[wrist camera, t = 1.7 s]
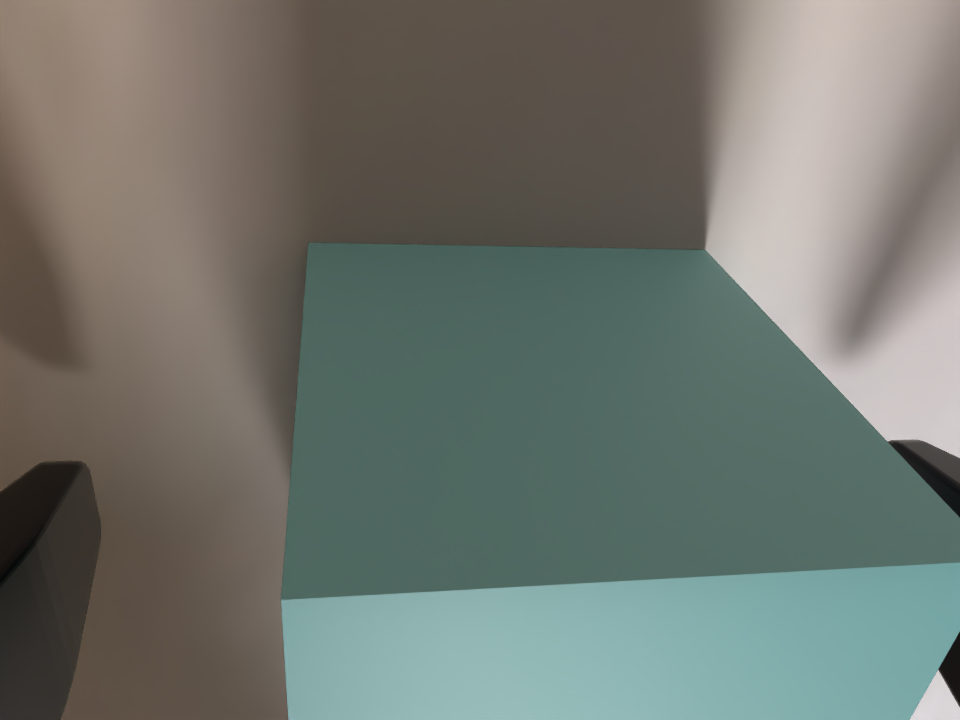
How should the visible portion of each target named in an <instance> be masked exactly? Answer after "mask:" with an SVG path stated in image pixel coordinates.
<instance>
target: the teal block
mask: <svg viewBox="0 0 960 720" xmlns="http://www.w3.org/2000/svg"><path fill="white" fill-rule="evenodd" d="M281 609H282V625H283V642H284V658H285V674H286V690H287V707H288V720H910V718H911V716H912V714H913V713H914V711H915V709H916V707H917V706H918V704H919V702H920V700H921V699H922V697H923V695H924V693H925V691H926V690H927V688H928V686H929V684H930V683H931V681H932V679H933V677H934V676H935V674H936V672H937V670H938V669H939V667H940V665H941V663H942V662H943V660H944V658H945V656H946V655H947V653H948V651H949V649H950V648H951V646H952V644H953V642H954V641H955V639H956V637H957V635H958V634H959V632H960V517H959V516H958V515H957V514H956V513H955V512H954V511H953V510H952V509H951V508H950V507H949V506H948V505H947V504H946V503H945V502H944V501H943V500H942V499H941V497H940V496H939V495H938V494H937V493H936V492H935V491H934V490H933V489H932V488H931V487H930V486H929V485H928V484H927V483H926V482H925V481H924V480H923V479H922V477H921V476H920V475H919V474H918V473H917V472H916V471H915V470H914V469H913V468H912V467H911V466H910V465H909V464H908V463H907V462H906V461H905V460H904V459H903V457H902V456H901V455H900V454H899V453H898V452H897V451H896V450H895V449H894V448H893V447H892V446H891V445H890V444H889V443H888V442H887V441H886V440H885V439H884V438H883V436H882V435H881V434H880V433H879V432H878V431H877V430H876V429H875V428H874V427H873V426H872V425H871V424H870V423H869V422H868V421H867V420H866V419H865V418H864V416H863V415H862V414H861V413H860V412H859V411H858V410H857V409H856V408H855V407H854V406H853V405H852V404H851V403H850V402H849V401H848V400H847V399H846V398H845V396H844V395H843V394H842V393H841V392H840V391H839V390H838V389H837V388H836V387H835V386H834V385H833V384H832V383H831V382H830V381H829V380H828V379H827V378H826V377H825V375H824V374H823V373H822V372H821V371H820V370H819V369H818V368H817V367H816V366H815V365H814V364H813V363H812V362H811V361H810V360H809V359H808V358H807V357H806V355H805V354H804V353H803V352H802V351H801V350H800V349H799V348H798V347H797V346H796V345H795V344H794V343H793V342H792V341H791V340H790V339H789V338H788V337H787V335H786V334H785V333H784V332H783V331H782V330H781V329H780V328H779V327H778V326H777V325H776V324H775V323H774V322H773V321H772V320H771V319H770V318H769V317H768V316H767V314H766V313H765V312H764V311H763V310H762V309H761V308H760V307H759V306H758V305H757V304H756V303H755V302H754V301H753V300H752V299H751V298H750V297H749V296H748V294H747V293H746V292H745V291H744V290H743V289H742V288H741V287H740V286H739V285H738V284H737V283H736V282H735V281H734V280H733V279H732V278H731V277H730V276H729V274H728V273H727V272H726V271H725V270H724V269H723V268H722V267H721V266H720V265H719V264H718V263H717V262H716V261H715V260H714V259H713V258H712V257H711V256H710V254H709V253H708V252H707V251H706V250H686V249H631V248H576V247H521V246H466V245H411V244H356V243H308V255H307V268H306V281H305V294H304V307H303V320H302V333H301V346H300V359H299V372H298V385H297V398H296V411H295V424H294V437H293V450H292V463H291V476H290V489H289V502H288V515H287V528H286V541H285V554H284V567H283V580H282V593H281Z"/></svg>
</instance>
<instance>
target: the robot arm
mask: <svg viewBox="0 0 960 720" xmlns="http://www.w3.org/2000/svg"><path fill="white" fill-rule="evenodd" d="M888 443H889V444H890V445H891V446H892V447H893V448H894V449H895V450H896V451H897V452H898V453H899V454H900V455H901V456H902V457H903V459H904V460H905V461H906V462H907V463H908V464H909V465H910V466H911V467H912V468H913V469H914V470H915V471H916V472H917V473H918V474H919V475H920V476H921V477H922V479H923V480H924V481H925V482H926V483H927V484H928V485H929V486H930V487H931V488H932V489H933V490H934V491H935V492H936V493H937V494H938V495H939V496H940V497H941V499H942V500H943V501H944V502H945V503H946V504H947V505H948V506H949V507H950V508H951V509H952V510H953V511H954V512H955V513H956V514H957V515H958V516H959V517H960V458H958V457H956V456H954V455H952V454H950V453H947V452H945V451H943V450H941V449H939V448H937V447H935V446H933V445H931V444H928V443H926V442H924V441H920V440H891V441H888ZM100 540H101V522H100V517H99V512H98V507H97V502H96V498H95V493H94V488H93V483H92V478H91V474H90V470H89V468H88V467H87V465H86V464H85V463H83V462H82V461H47V462H42V463H40V464H38V465H36V466H35V467H33V468H32V469H30V470H29V471H28V472H26V473H25V474H24V475H22V476H21V477H20V478H18V479H17V480H15V481H14V482H13V483H11V484H10V485H9V486H7V487H6V488H5V489H3V490H2V491H0V720H61V717H62V714H63V711H64V708H65V705H66V702H67V698H68V695H69V692H70V688H71V685H72V681H73V677H74V673H75V668H76V664H77V659H78V654H79V649H80V644H81V639H82V634H83V629H84V624H85V618H86V613H87V608H88V603H89V598H90V593H91V588H92V583H93V578H94V573H95V568H96V563H97V557H98V552H99V547H100ZM938 670H939V672H940V674H941V675H942V677H943V679H944V681H945V682H946V684H947V686H948V688H949V689H950V691H951V693H952V695H953V696H954V698H955V700H956V702H957V703H958V705H959V707H960V632H959V634H958V635H957V637H956V639H955V641H954V642H953V644H952V646H951V648H950V649H949V651H948V653H947V655H946V656H945V658H944V660H943V662H942V663H941V665H940V667H939V669H938Z"/></svg>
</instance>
